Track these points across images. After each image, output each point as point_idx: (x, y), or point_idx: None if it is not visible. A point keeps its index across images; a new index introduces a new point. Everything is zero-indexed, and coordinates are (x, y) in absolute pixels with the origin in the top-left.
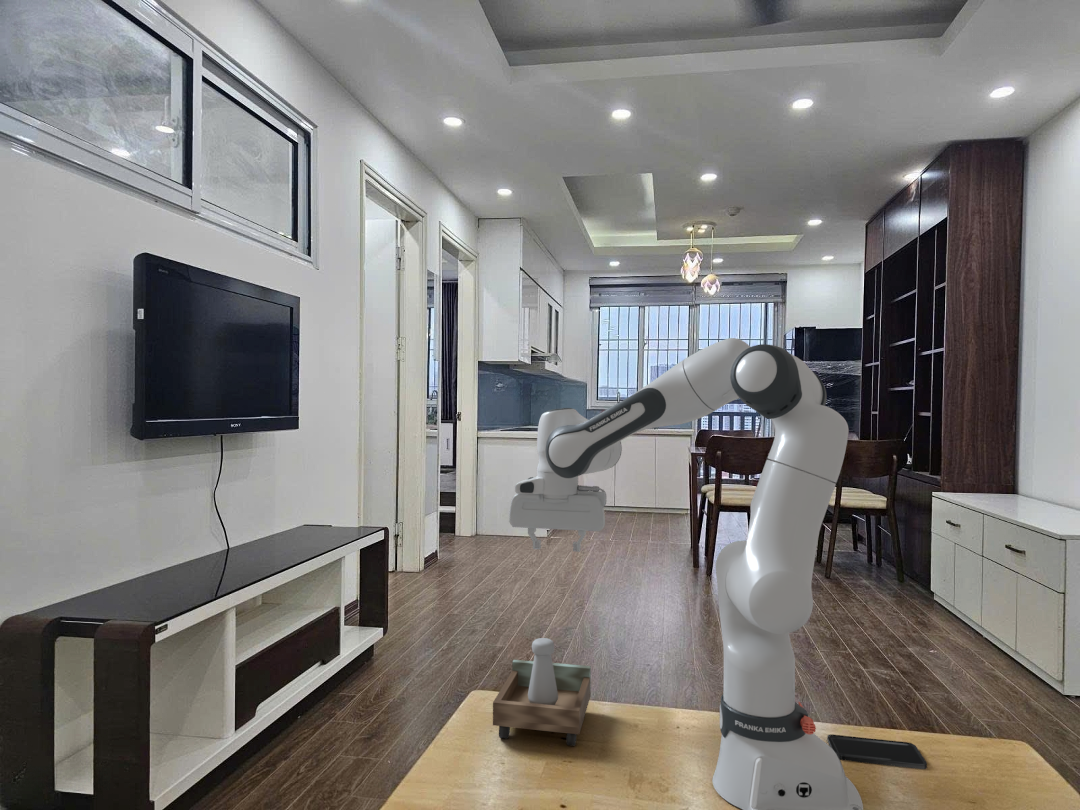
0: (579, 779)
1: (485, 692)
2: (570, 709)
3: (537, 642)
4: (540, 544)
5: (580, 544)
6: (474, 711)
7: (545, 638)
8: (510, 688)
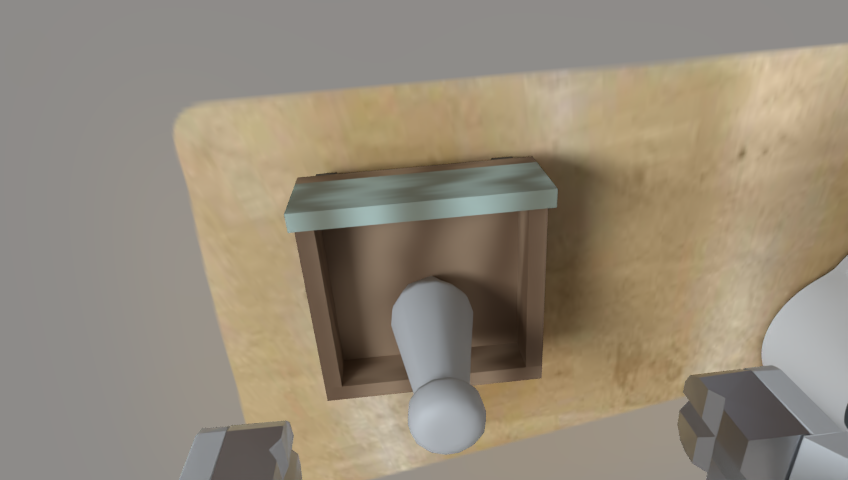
0: (530, 389)
1: (186, 111)
2: (519, 378)
3: (434, 450)
4: (274, 450)
5: (814, 421)
6: (221, 227)
7: (453, 419)
8: (328, 296)
